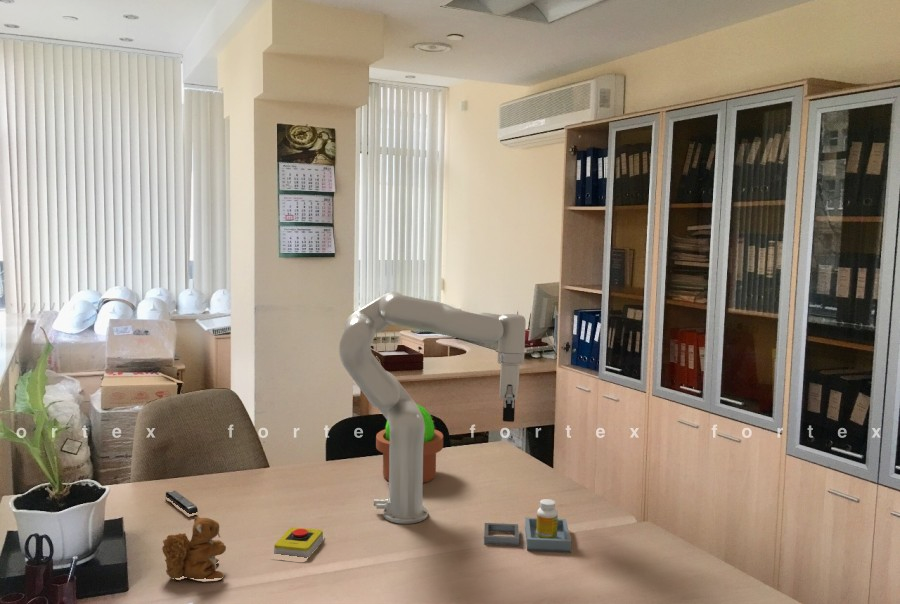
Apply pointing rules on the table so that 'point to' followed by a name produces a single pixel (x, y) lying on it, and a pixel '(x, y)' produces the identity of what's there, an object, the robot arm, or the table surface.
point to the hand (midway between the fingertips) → (508, 416)
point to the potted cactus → (430, 447)
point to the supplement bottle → (547, 520)
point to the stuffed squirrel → (194, 551)
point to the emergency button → (299, 542)
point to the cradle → (501, 539)
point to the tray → (545, 544)
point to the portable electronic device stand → (181, 502)
